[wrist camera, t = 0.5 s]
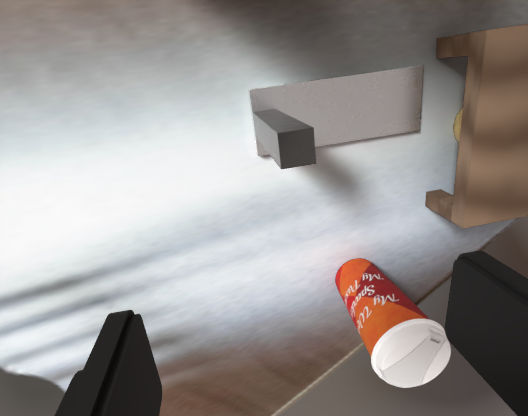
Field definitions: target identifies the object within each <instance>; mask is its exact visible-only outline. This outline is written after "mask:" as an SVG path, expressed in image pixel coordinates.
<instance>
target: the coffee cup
mask: <svg viewBox="0 0 528 416" xmlns="http://www.w3.org/2000/svg"><path fill="white" fill-rule="evenodd" d="M335 282H336V286H337V288H338V290H339V293H340V295H341V297H342V299H343V301H344V303H345V305H346V307H347V309H348V311H349V313H350V315H351V317H352V320H353V322H354V324H355V326H356V328H357V330H358V332H359V334H360V336H361V338H362V340H363V342H364V344H365V346H366V348H367V350H368V352H369V354H370V356H371V363H372V367H373V369H374V371H375V372H376V373H377V374H378V376H379V377H380V378H381V379H383V380H385V381H386V382H387V383H389V384H392V385H394V386H398V387H403V388H407V387H408V388H409V387H414V386H419V385H422V384H425V383H427V382H429V381H430V380H432V379H433V378H435V377H436V376H437V375H438V374H439V373H441V372H442V370H443V369H444V368H445V366H446V365H447V363H448V361H449V358H450V354H451V349H450V344H449V341H448V340H447V337H446V334H445V330H444V329H443V327H442V326H441V325H440V324H439V323H437V322H435V321H433V320H430V319H429V318H428V317H427V316H426V315H425V314H424V313H423V312H422V311H421V310H420V309H419V308H418V307H417V306H416V305H415V304H414V303H413V302H412V301H411V300H410V299H409V298H408V297H407V296H406V295H405V294H404V293H403V292H402V291H401V290H400V289H399V288H398V287H397V286H396V285H395V284H394V283H393V282H391V281H390V280H389V279H388V278H387V277H386V276H385V275H384V274H383V273H382V272H381V271H380V270H379V269H378V268H377V267H376V266H375V265H373V264H372V263H371V262H370V261H368V260H366V259H362V258H357V259H352V260H350V261H348V262H346V263H344V264H343V265H342V266H341V267H340V268H339V270H338V272H337V274H336V278H335Z"/></svg>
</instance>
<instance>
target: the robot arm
mask: <svg viewBox="0 0 528 416" xmlns="http://www.w3.org/2000/svg"><path fill="white" fill-rule="evenodd" d="M445 334H446V337H447V338H448V340H449V341H450V343H451V344H452V345H453V346H454V347H455V348H456V349H457V350H458V351H459V352H460V353H461V354H462V356H463V357H464V358H465V359H466V360H467V361H468V362H469V363H470V364H471V365H472V366H473V368H474V369H475V370H476V371H477V372H478V373H479V374H480V375H481V376H482V377H483V379H484V380H485V381H486V382H487V383H488V384H489V385H490V386H491V387H492V388H493V389H494V390H495V392H496V393H497V394H498V395H499V396H500V397H501V398H502V399H503V400H504V401H505V403H506V404H507V405H508V406H509V407H510V408H511V409H512V410H513V411H514V412H515V413H516V414H517V416H528V279H527V278H525V277H524V276H522V275H521V274H519V273H517V272H516V271H514V270H512V269H511V268H509V267H508V266H506V265H504V264H503V263H501V262H500V261H498V260H496V259H495V258H493V257H492V256H490V255H488V254H487V253H485V252H483V251H475V252H469V253H463V254H460V255H459V257H458V259H457V260H455V262H454V265H453V272H452V280H451V287H450V294H449V301H448V308H447V315H446V323H445ZM161 400H162V385H161V381H160V378H159V374H158V371H157V368H156V364H155V361H154V357H153V354H152V351H151V347H150V344H149V340H148V337H147V334H146V330H145V327H144V324H143V320H142V317H141V315H140V314H136V315H135V314H134V312H133V311H132V310H127V311H121V312H115V313H110V314H109V315H108V316H107V318H106V320H105V323H104V325H103V327H102V329H101V331H100V334H99V336H98V338H97V340H96V343H95V345H94V347H93V349H92V351H91V354H90V356H89V358H88V360H87V363H86V365H85V367H84V369H83V370H80V371H78V372H77V373H76V374H75V375H74V377H73V378H72V380H71V382H70V384H69V387H68V389H67V391H66V393H65V395H64V397H63V400H62V401H61V404H60V406H59V408H58V410H57V412H56V414H55V416H159V413H160V406H161Z"/></svg>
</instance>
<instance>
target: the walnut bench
mask: <svg viewBox="0 0 528 416" xmlns="http://www.w3.org/2000/svg"><path fill="white" fill-rule="evenodd" d="M459 56H468V63H467V73H466V82H465V92H464V102H463V111H462V121H461V130H460V140H459V149H458V159H457V168H456V178H455V187H454V196H453V195H451V194H449V193H447V192H445V191H443V190H441V189H440V190H435V191H429V192H426V205H425V206H426V207H428V208H430V209H431V210H433V211H435V212H436V213H438V214H440V215H441V216H443V217H445V218H446V219H448V220H449V221H451V222H453V223H454V224H456V225H458V226H459V227H461V228H468V227H473V226H478V225H483V224H488V223H493V222H498V221H503V220H508V219H514V218H519V217H524V216H528V24H526V25H518V26H511V27H504V28H497V29H490V30H484V31H478V32H472V33H466V34H460V35H454V36H448V37H442V38H437V47H436V58H446V57H459Z"/></svg>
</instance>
